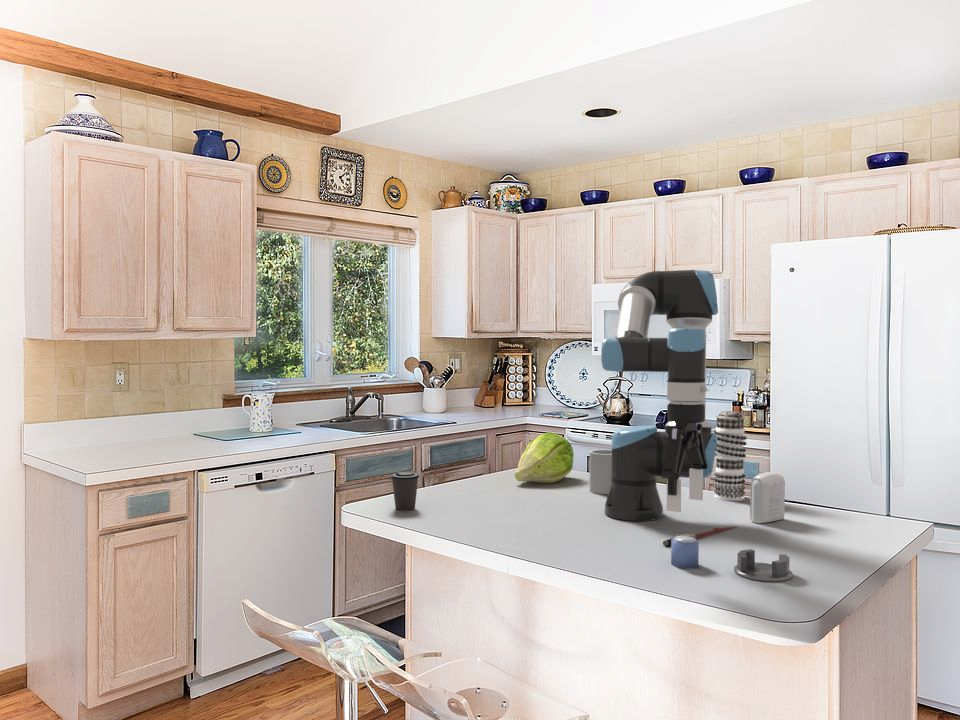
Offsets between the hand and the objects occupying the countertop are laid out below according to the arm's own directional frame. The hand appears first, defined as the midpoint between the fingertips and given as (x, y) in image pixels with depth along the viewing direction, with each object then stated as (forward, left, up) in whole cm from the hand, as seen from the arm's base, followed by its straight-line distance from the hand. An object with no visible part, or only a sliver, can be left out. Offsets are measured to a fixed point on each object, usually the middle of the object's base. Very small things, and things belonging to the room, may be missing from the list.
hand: (685, 505), depth 159 cm
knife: (-5, +25, -13) cm, 29 cm away
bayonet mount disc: (+15, +3, -13) cm, 20 cm away
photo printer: (+5, +48, -13) cm, 50 cm away
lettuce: (-69, +62, -13) cm, 94 cm away
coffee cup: (-81, +7, -13) cm, 82 cm away
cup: (-45, +58, -13) cm, 75 cm away
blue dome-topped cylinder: (0, 0, -13) cm, 13 cm away
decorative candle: (-11, +70, -13) cm, 72 cm away
